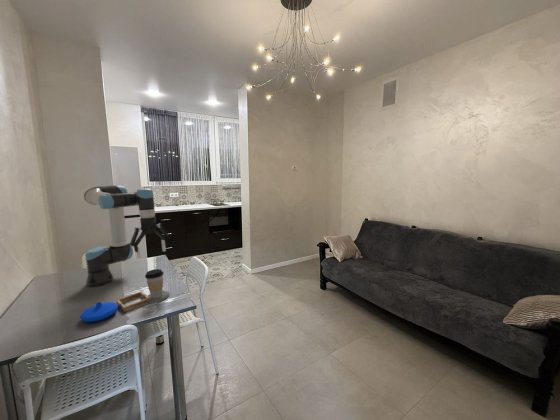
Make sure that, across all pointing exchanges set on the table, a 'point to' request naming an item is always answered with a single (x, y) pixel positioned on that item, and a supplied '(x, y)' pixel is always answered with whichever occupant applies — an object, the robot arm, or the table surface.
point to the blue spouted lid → (99, 311)
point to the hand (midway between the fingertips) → (152, 254)
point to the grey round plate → (164, 297)
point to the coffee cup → (155, 283)
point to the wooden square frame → (135, 305)
